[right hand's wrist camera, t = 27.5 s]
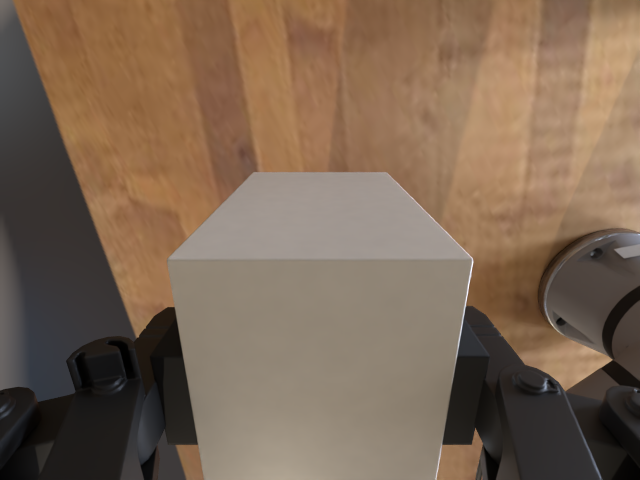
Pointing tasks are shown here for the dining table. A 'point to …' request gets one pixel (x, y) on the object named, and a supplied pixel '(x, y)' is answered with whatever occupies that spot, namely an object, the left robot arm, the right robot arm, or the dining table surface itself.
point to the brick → (320, 329)
